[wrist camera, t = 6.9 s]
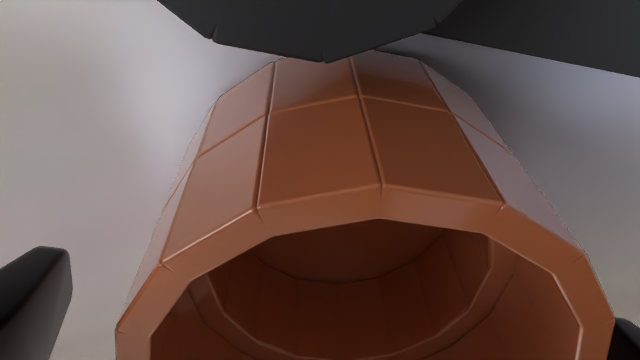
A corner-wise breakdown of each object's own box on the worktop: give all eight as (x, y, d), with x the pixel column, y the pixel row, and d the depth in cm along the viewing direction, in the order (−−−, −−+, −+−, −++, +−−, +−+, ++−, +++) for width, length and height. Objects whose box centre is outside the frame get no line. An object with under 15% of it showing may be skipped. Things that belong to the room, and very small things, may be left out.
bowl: (431, 305, 13) (493, 511, 9) (181, 275, 12) (119, 488, 8) (541, 74, 10) (726, 237, 5) (199, 7, 9) (106, 141, 4)
